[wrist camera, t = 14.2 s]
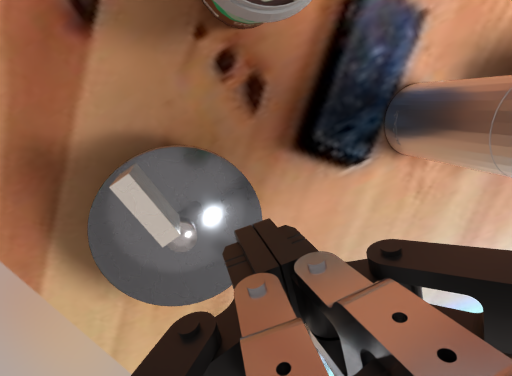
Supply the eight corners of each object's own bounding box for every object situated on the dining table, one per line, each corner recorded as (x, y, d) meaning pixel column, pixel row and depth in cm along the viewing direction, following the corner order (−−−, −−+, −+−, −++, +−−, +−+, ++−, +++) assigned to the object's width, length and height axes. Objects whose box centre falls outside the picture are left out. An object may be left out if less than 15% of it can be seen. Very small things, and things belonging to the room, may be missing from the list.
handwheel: (285, 236, 36) (308, 263, 30) (164, 325, 35) (162, 371, 29) (199, 110, 30) (206, 112, 24) (51, 212, 29) (18, 241, 23)
